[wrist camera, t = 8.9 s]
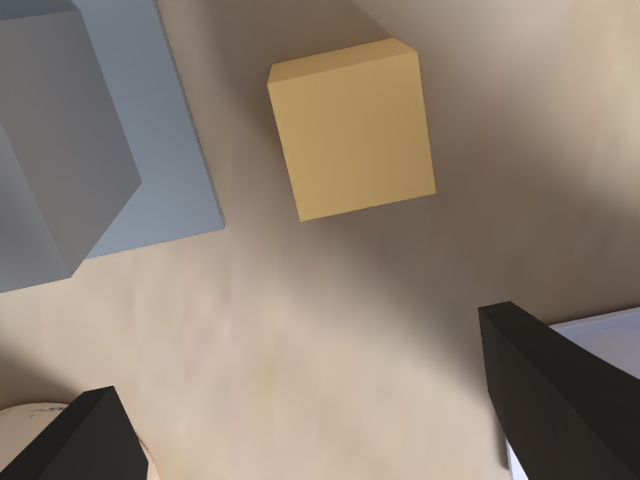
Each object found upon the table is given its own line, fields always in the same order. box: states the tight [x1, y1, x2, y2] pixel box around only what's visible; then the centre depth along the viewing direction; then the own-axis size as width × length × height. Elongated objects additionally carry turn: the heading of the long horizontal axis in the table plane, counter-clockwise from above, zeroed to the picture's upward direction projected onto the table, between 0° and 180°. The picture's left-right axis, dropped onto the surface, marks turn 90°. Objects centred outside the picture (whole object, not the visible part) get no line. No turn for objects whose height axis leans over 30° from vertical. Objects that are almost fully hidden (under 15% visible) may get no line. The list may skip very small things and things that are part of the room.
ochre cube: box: [267, 37, 436, 222], centre depth 18 cm, size 4×4×4 cm
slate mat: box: [0, 0, 225, 260], centre depth 19 cm, size 10×10×1 cm
